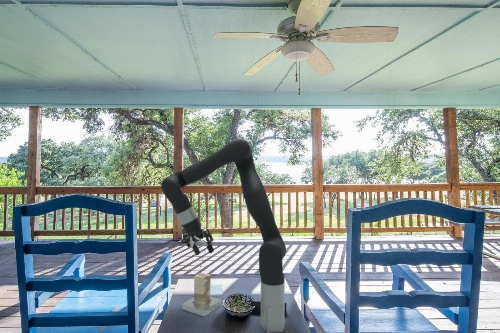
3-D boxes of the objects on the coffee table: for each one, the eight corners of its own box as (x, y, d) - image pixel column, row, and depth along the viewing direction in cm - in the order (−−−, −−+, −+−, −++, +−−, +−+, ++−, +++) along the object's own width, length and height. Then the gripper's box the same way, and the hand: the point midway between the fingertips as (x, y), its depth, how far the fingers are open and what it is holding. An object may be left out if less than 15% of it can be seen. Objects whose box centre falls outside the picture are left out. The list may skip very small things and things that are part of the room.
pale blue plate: (223, 295, 139) (223, 293, 139) (198, 297, 137) (198, 295, 137) (221, 286, 151) (221, 284, 151) (198, 287, 149) (198, 285, 149)
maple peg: (202, 311, 123) (203, 278, 123) (193, 308, 125) (194, 275, 126) (210, 306, 127) (210, 274, 128) (201, 303, 130) (201, 272, 130)
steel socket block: (203, 316, 118) (203, 310, 118) (182, 309, 124) (182, 303, 124) (221, 305, 128) (221, 299, 128) (200, 299, 134) (200, 293, 135)
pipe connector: (253, 292, 131) (286, 294, 129) (252, 303, 131) (286, 305, 129) (250, 303, 119) (286, 306, 118) (249, 316, 119) (286, 319, 117)
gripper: (205, 212, 119) (222, 246, 121) (184, 218, 127) (199, 250, 129) (194, 221, 113) (211, 257, 115) (171, 226, 121) (188, 259, 123)
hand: (205, 253), depth 122 cm, fingers open, 8 cm apart
